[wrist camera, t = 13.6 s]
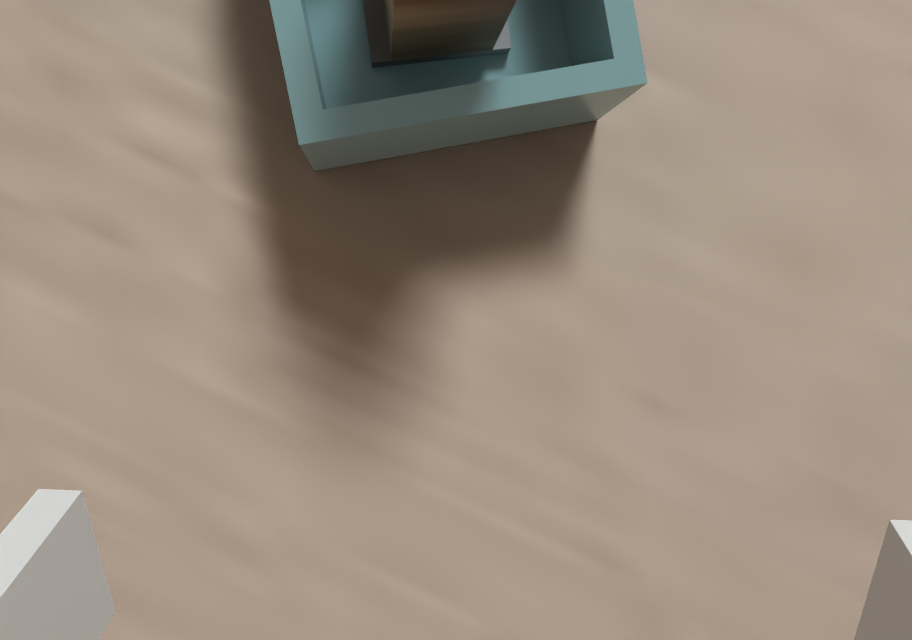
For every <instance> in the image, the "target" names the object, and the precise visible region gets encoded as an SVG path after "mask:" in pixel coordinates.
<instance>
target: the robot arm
mask: <svg viewBox="0 0 912 640" xmlns="http://www.w3.org/2000/svg"><path fill="white" fill-rule="evenodd" d="M115 611H116V610H115V606H114V603H113V599H112V595H111V592H110V588H109V585H108V581H107V578H106V574H105V570H104V567H103V563H102V560H101V556H100V553H99V549H98V546H97V542H96V538H95V535H94V531H93V528H92V524H91V521H90V517H89V513H88V510H87V506H86V503H85V499H84V496H83V492H82V491H76V490H48V489H38V490H37V491H36V493H35V494H34V495H33V496H32V497H31V498H30V500H29V501H28V502H27V503H26V504H25V506H24V507H23V508H22V509H21V510H20V511H19V513H18V514H17V515H16V516H15V517H14V519H13V520H12V521H11V522H10V523H9V525H8V526H7V527H6V528H5V529H4V530H3V532H2V533H1V534H0V640H99V638H100V636H101V635H102V633H103V631H104V630H105V628H106V626H107V624H108V623H109V621H110V619H111V618H112V616H113V614H114V612H115ZM854 640H912V521H909V520H889V524H888V527H887V530H886V534H885V537H884V541H883V544H882V547H881V551H880V554H879V557H878V561H877V564H876V568H875V571H874V574H873V578H872V581H871V584H870V588H869V591H868V595H867V598H866V601H865V605H864V608H863V611H862V615H861V618H860V622H859V625H858V628H857V632H856V635H855V638H854Z"/></svg>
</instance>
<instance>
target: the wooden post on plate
mask: <svg viewBox="0 0 912 640" xmlns="http://www.w3.org/2000/svg"><path fill="white" fill-rule="evenodd" d="M516 1H517V0H363V6H364V14H365V21H366V28H367V36H368V43H369V50H370V58H371V65H372V68H377V67H386V66H396V65H405V64H414V63H423V62H432V61H442V60H451V59H460V58H469V57H479V56H488V55H497V54H506V53H509V51H510V49H511V41H510V33H509V25H508V17H509V15H510V13H511V11H512V9H513V7H514V5H515V3H516Z"/></svg>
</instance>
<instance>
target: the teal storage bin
mask: <svg viewBox="0 0 912 640" xmlns="http://www.w3.org/2000/svg"><path fill="white" fill-rule="evenodd" d="M269 2H270V7H271V12H272V17H273V21H274V26H275V31H276V36H277V41H278V46H279V51H280V56H281V60H282V65H283V70H284V75H285V80H286V85H287V90H288V95H289V99H290V104H291V109H292V114H293V119H294V124H295V129H296V134H297V139H298V143H299V146H300V148H301V150H302V151H303V153H304V155H305V156H306V158H307V160H308V161H309V163H310V165H311V166H312V168H313V170H314V171H319V170H325V169H330V168H336V167H341V166H347V165H352V164H358V163H363V162H369V161H374V160H380V159H385V158H391V157H396V156H402V155H407V154H413V153H418V152H424V151H429V150H435V149H440V148H446V147H451V146H457V145H462V144H468V143H473V142H479V141H484V140H490V139H495V138H501V137H506V136H512V135H517V134H523V133H528V132H534V131H539V130H545V129H550V128H556V127H561V126H567V125H572V124H578V123H583V122H589V121H594V120H598V119H600V118H601V117H602V116H604V115H605V114H606V113H608V112H609V111H610V110H612V109H613V108H614V107H616V106H617V105H618V104H620V103H621V102H622V101H624V100H625V99H626V98H628V97H629V96H630V95H632V94H633V93H635V92H636V91H637V90H639V89H640V88H641V87H643V86H644V85H645V84H647V78H646V72H645V67H644V61H643V55H642V50H641V44H640V38H639V32H638V27H637V21H636V15H635V10H634V4H633V0H517V1H516V3H515V5H514V7H513V9H512V11H511V13H510V15H509V17H508V25H509V33H510V41H511V49H510V51H509V53H506V54H497V55H488V56H479V57H469V58H460V59H451V60H442V61H432V62H423V63H414V64H405V65H396V66H386V67H377V68H372V65H371V58H370V50H369V43H368V36H367V28H366V21H365V14H364V6H363V0H269Z"/></svg>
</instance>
